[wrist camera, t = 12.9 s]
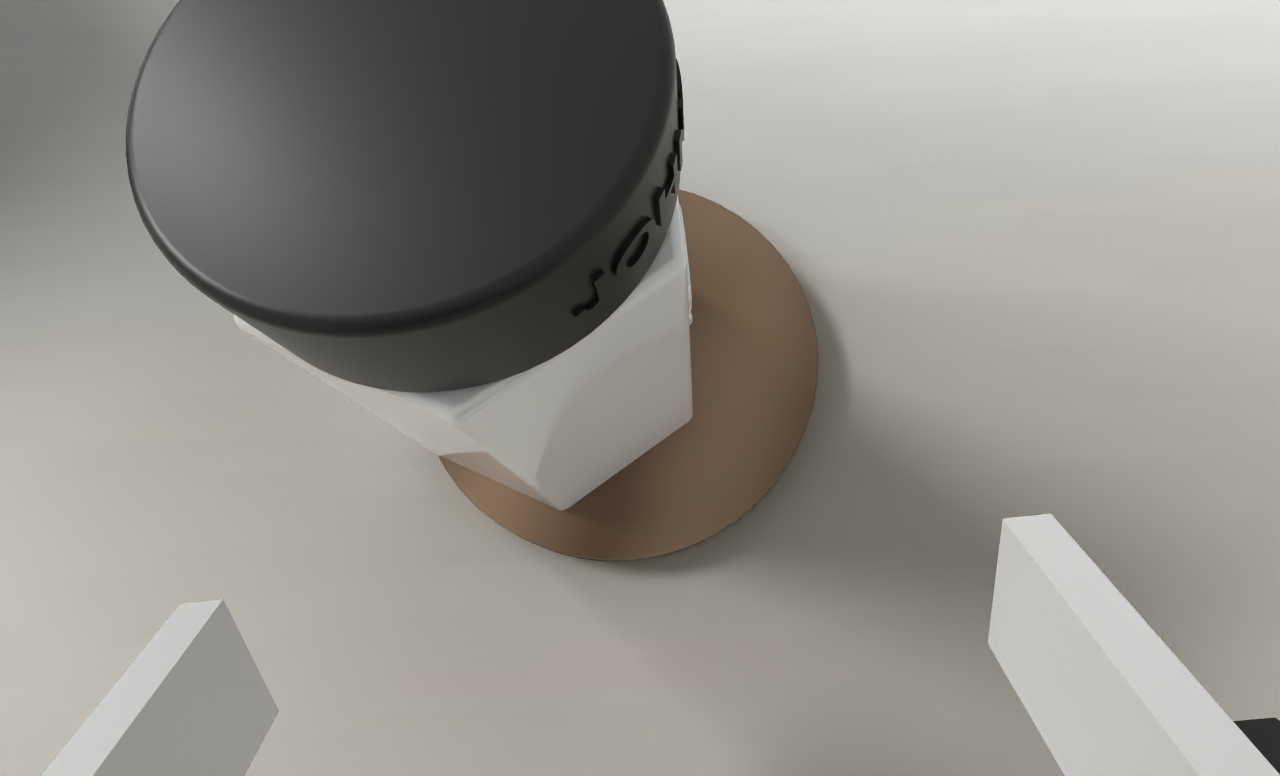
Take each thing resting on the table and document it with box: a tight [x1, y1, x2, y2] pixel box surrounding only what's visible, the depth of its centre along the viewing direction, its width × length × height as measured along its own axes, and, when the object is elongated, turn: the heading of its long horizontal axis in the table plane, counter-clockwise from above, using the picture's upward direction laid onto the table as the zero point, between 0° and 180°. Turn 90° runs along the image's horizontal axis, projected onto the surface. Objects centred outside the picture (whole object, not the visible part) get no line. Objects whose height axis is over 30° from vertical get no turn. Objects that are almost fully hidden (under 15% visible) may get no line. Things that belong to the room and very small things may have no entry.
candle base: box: [439, 190, 818, 561], centre depth 22 cm, size 12×12×1 cm
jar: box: [126, 0, 693, 510], centre depth 16 cm, size 9×8×12 cm
